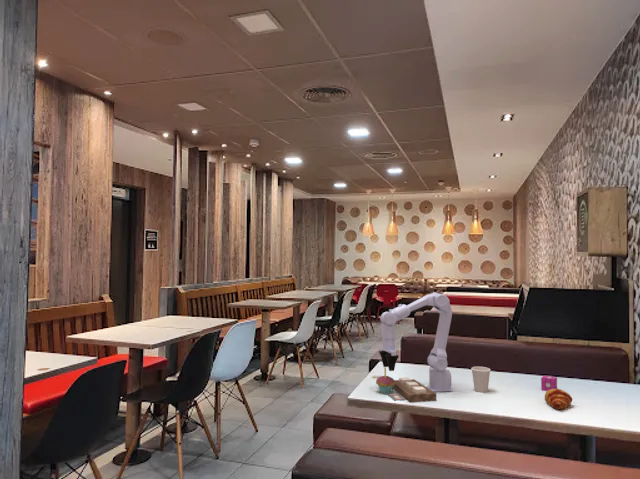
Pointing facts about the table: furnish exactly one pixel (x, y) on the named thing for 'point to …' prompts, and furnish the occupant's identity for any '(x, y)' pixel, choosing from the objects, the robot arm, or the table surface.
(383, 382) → the cupcake
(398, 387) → the button board
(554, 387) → the puzzle toy
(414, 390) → the button
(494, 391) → the table surface
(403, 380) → the button
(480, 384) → the dixie cup
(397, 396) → the pattern card
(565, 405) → the croissant
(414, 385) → the button middle
